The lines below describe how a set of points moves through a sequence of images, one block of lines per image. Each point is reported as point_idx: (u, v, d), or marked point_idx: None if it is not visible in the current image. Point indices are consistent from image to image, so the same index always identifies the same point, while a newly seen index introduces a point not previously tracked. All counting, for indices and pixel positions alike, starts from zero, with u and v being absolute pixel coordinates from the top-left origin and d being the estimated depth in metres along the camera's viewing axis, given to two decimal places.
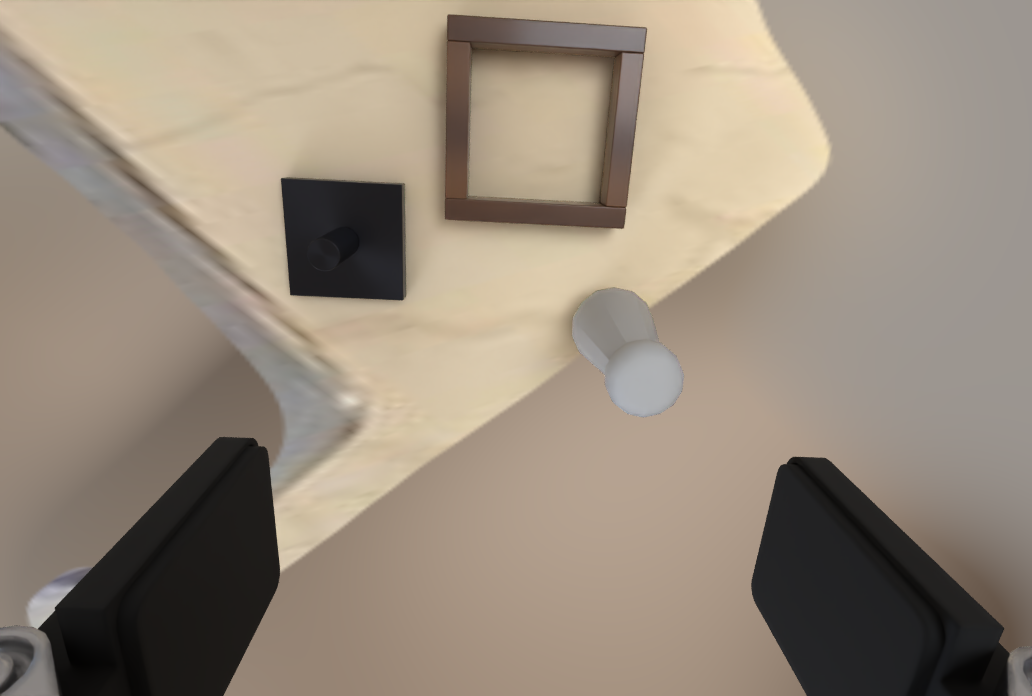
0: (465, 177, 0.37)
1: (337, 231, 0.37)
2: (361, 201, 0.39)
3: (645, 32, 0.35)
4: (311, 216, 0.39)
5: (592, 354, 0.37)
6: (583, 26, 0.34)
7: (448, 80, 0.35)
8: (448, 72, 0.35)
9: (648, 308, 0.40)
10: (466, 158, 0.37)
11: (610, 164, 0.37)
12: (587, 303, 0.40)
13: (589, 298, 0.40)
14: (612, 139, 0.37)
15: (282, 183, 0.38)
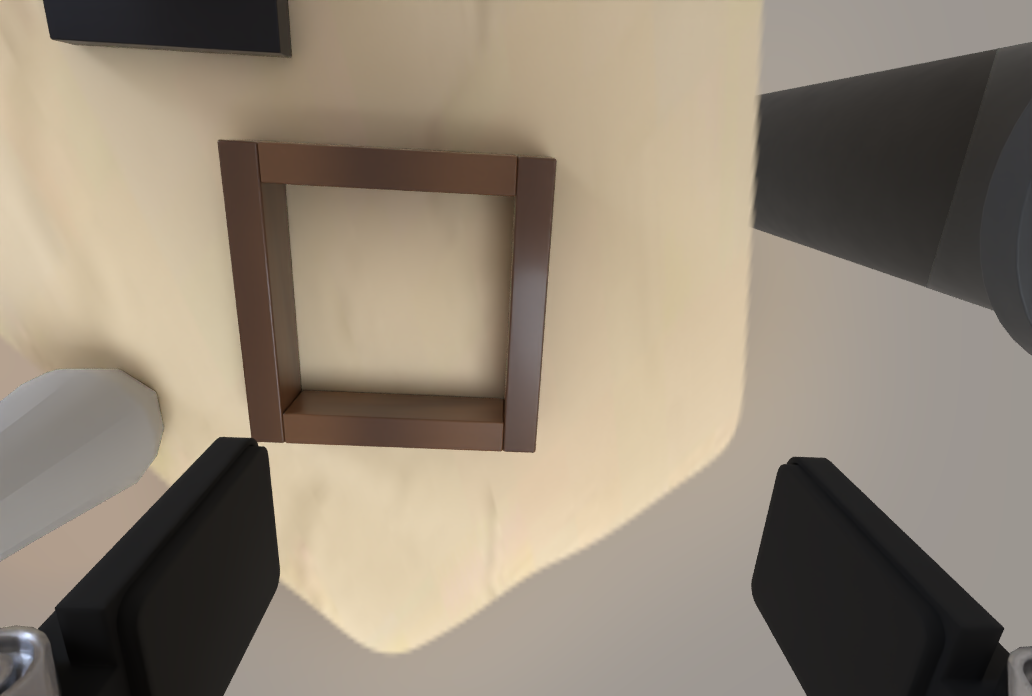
0: (298, 181, 0.21)
1: None
2: None
3: (528, 451, 0.24)
4: None
5: None
6: (536, 369, 0.23)
7: (456, 156, 0.20)
8: (469, 156, 0.20)
9: None
10: (331, 184, 0.21)
11: (347, 416, 0.24)
12: (108, 397, 0.23)
13: (123, 397, 0.23)
14: (384, 416, 0.24)
15: None
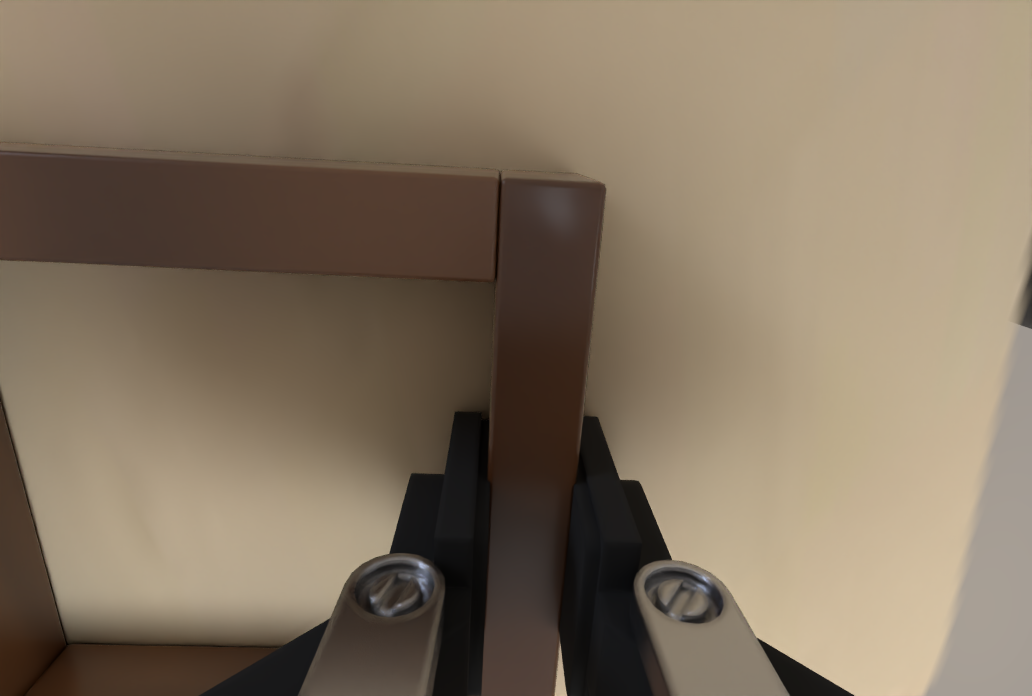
0: None
1: None
2: None
3: None
4: None
5: None
6: (548, 663, 0.10)
7: (327, 177, 0.07)
8: (363, 178, 0.07)
9: None
10: None
11: None
12: None
13: None
14: None
15: None
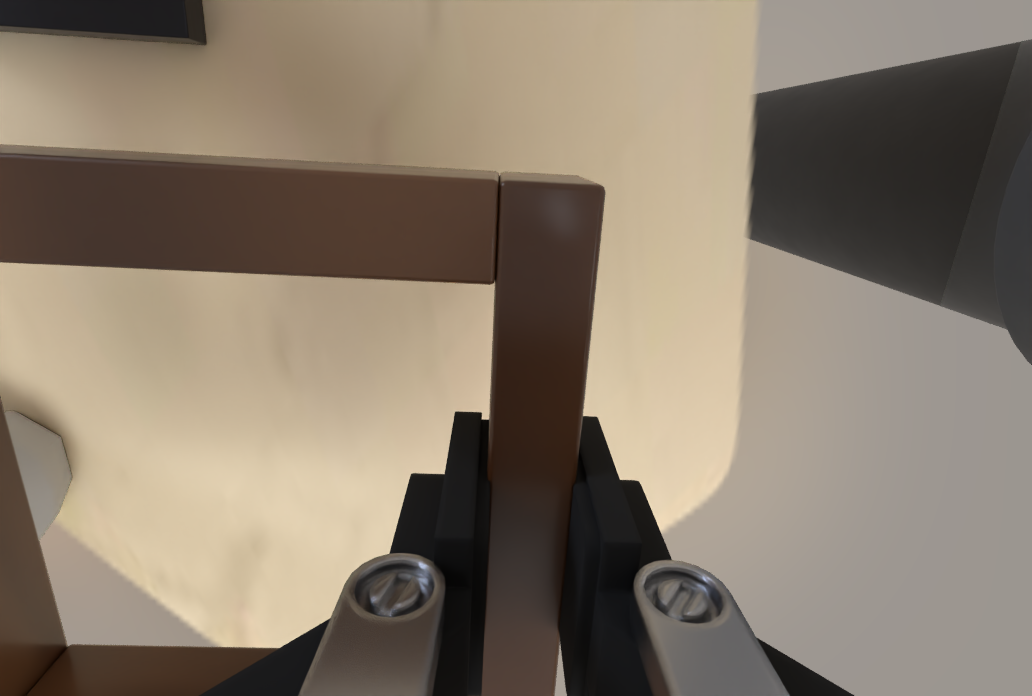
0: None
1: None
2: None
3: None
4: None
5: None
6: (548, 663, 0.10)
7: (327, 180, 0.07)
8: (363, 180, 0.07)
9: None
10: None
11: None
12: None
13: None
14: None
15: None
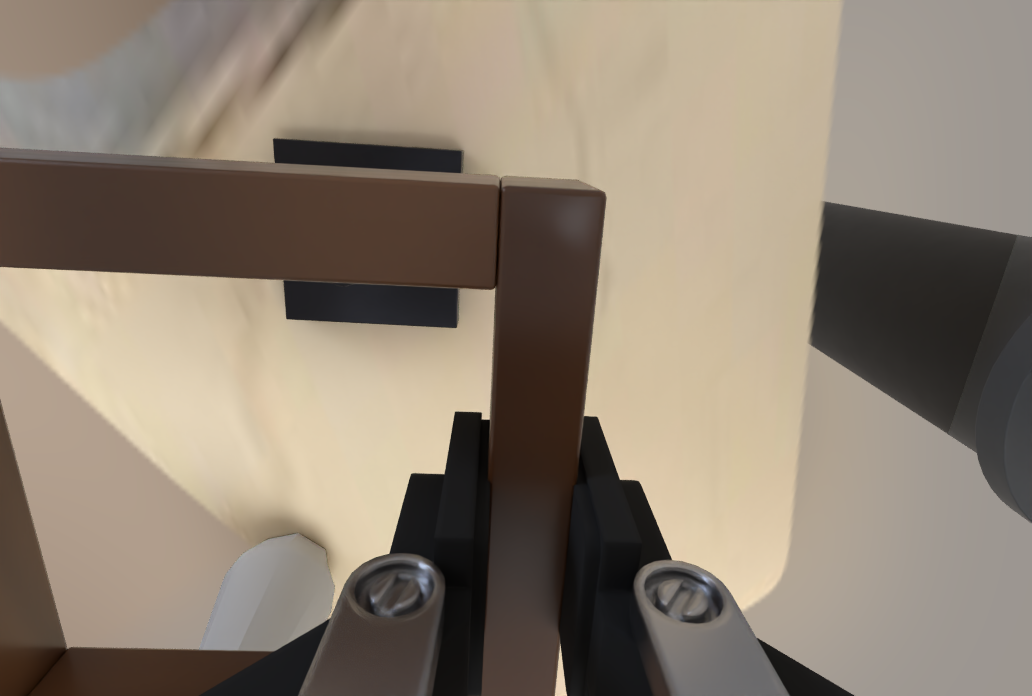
0: None
1: None
2: None
3: None
4: None
5: (229, 625, 0.26)
6: (548, 668, 0.10)
7: (328, 185, 0.07)
8: (364, 186, 0.07)
9: None
10: None
11: None
12: (308, 570, 0.30)
13: (316, 568, 0.30)
14: None
15: (454, 152, 0.25)
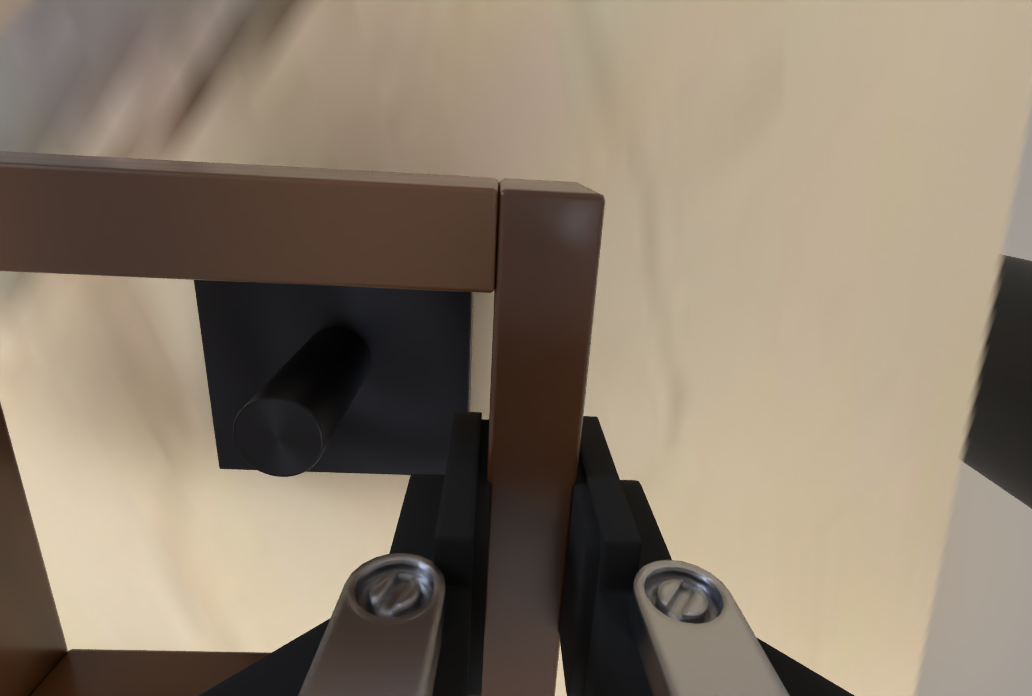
0: None
1: (355, 389, 0.16)
2: (429, 400, 0.18)
3: None
4: (390, 293, 0.17)
5: None
6: (547, 669, 0.10)
7: (326, 189, 0.07)
8: (363, 190, 0.07)
9: None
10: None
11: None
12: None
13: None
14: None
15: None
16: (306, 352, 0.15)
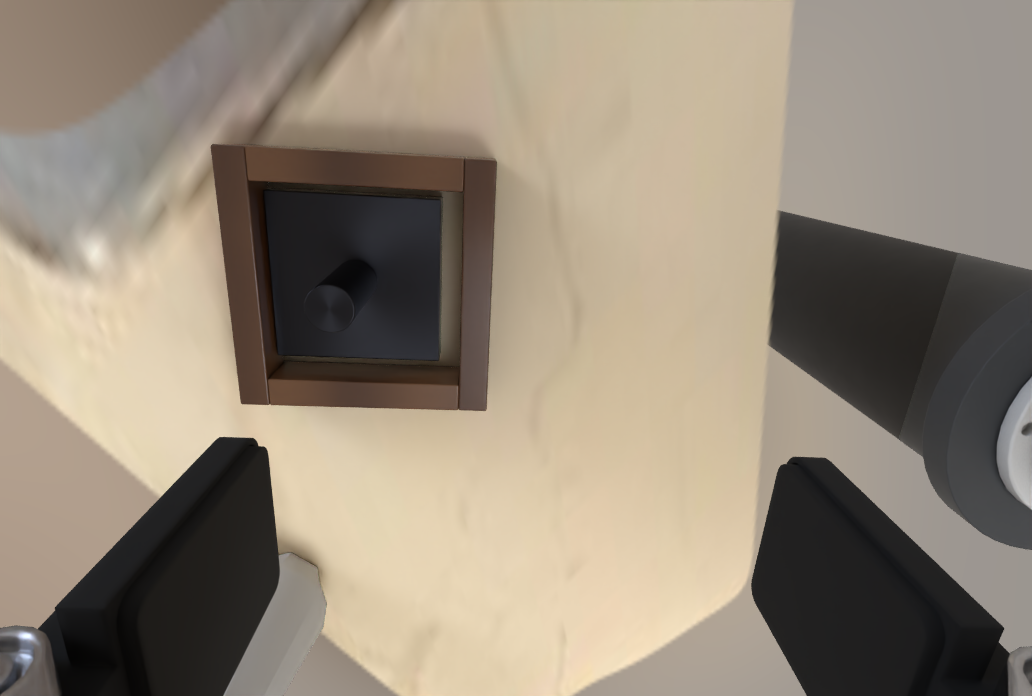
0: (280, 179, 0.25)
1: (369, 294, 0.26)
2: (414, 308, 0.28)
3: (480, 409, 0.29)
4: (389, 237, 0.27)
5: None
6: (485, 338, 0.27)
7: (413, 158, 0.24)
8: (423, 158, 0.25)
9: None
10: (307, 182, 0.25)
11: (323, 381, 0.28)
12: (301, 589, 0.31)
13: (308, 586, 0.32)
14: (356, 380, 0.28)
15: (433, 201, 0.26)
16: (340, 269, 0.25)
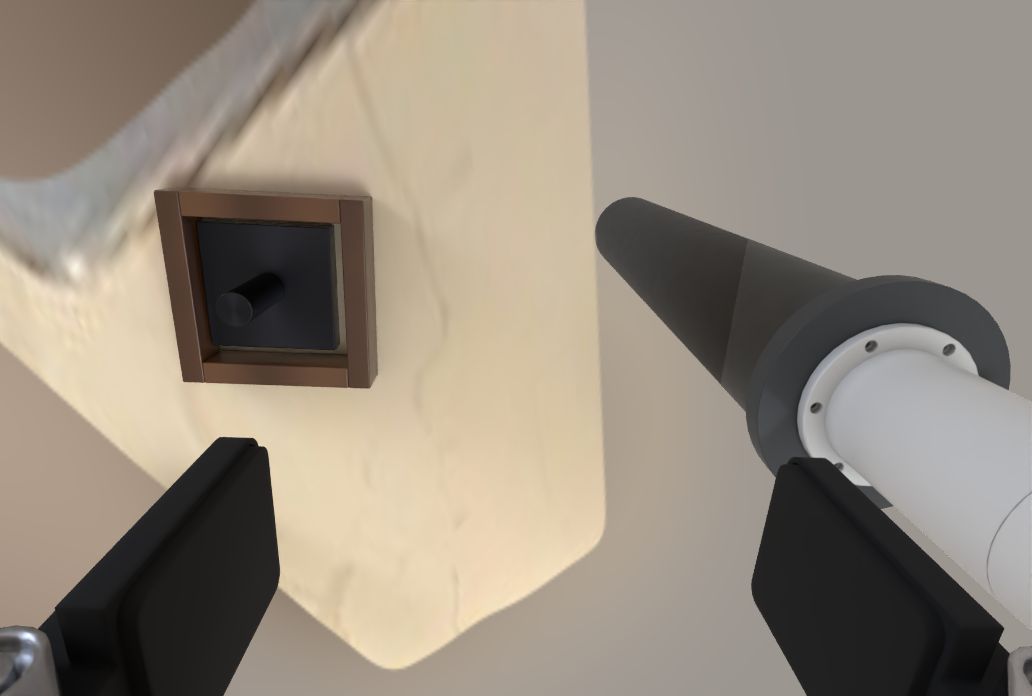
0: (204, 215, 0.34)
1: (272, 298, 0.35)
2: (313, 309, 0.37)
3: (365, 387, 0.37)
4: (291, 256, 0.36)
5: None
6: (365, 332, 0.36)
7: (301, 199, 0.33)
8: (309, 199, 0.33)
9: None
10: (225, 217, 0.34)
11: (244, 364, 0.37)
12: None
13: None
14: (269, 364, 0.37)
15: (323, 229, 0.35)
16: (249, 280, 0.34)
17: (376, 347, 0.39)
